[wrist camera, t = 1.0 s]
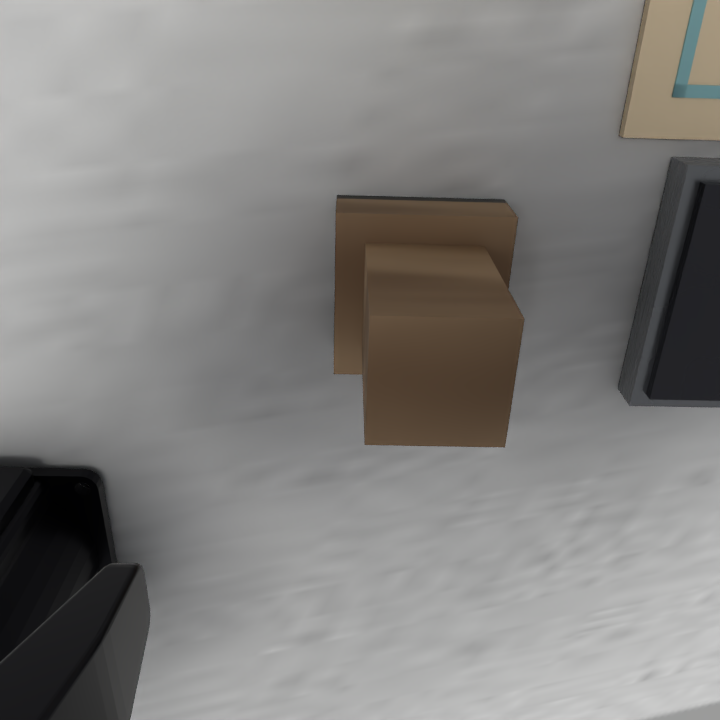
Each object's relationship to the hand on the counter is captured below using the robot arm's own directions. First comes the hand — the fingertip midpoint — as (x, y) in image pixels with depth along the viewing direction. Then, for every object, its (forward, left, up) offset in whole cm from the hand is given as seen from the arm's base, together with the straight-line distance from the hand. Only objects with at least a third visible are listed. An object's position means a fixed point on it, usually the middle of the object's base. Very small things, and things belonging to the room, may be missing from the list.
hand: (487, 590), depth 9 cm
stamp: (0, 0, -12) cm, 12 cm away
